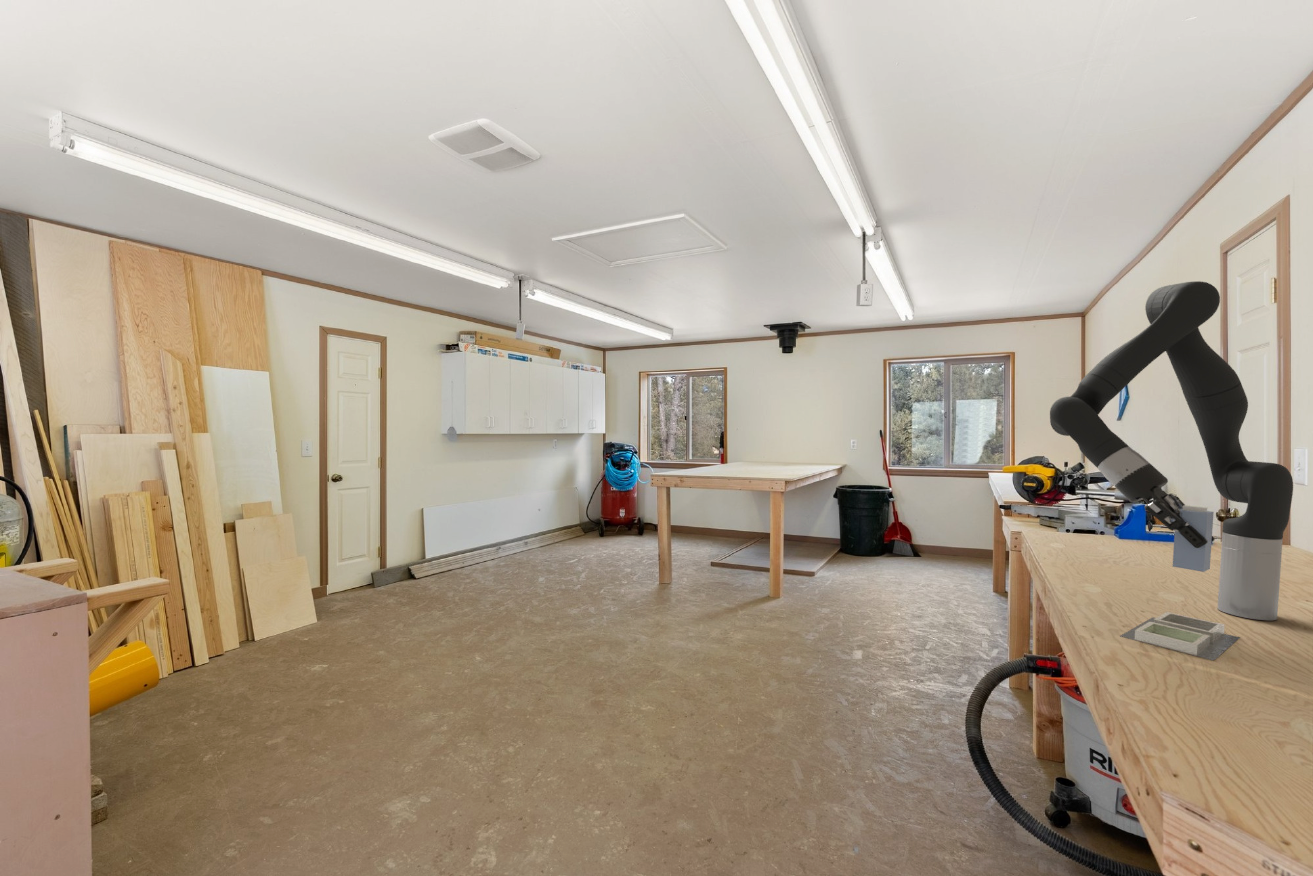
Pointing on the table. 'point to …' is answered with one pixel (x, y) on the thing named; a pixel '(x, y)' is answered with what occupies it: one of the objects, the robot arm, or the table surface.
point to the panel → (1183, 635)
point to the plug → (1184, 550)
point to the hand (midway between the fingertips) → (1206, 543)
